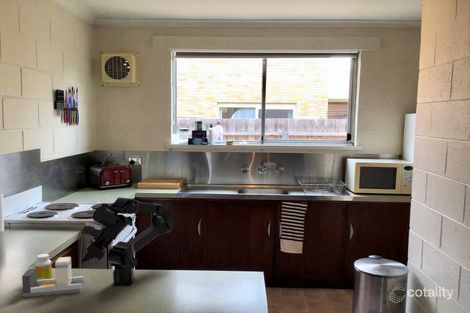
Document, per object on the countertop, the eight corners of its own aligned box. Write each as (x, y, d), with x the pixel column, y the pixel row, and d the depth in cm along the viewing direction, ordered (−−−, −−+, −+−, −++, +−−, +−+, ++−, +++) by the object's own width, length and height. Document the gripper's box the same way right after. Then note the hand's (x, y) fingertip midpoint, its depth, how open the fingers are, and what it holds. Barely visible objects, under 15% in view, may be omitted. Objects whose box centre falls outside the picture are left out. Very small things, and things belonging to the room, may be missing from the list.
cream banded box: (72, 280, 140) (70, 256, 139) (68, 286, 135) (67, 261, 134) (60, 281, 139) (58, 257, 138) (56, 287, 134) (55, 262, 133)
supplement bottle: (45, 283, 142) (44, 258, 141) (32, 282, 143) (31, 257, 142) (55, 278, 147) (54, 253, 146) (42, 277, 148) (41, 252, 147)
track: (84, 283, 142) (83, 264, 141) (80, 292, 134) (79, 272, 134) (30, 287, 139) (29, 268, 138) (22, 297, 131) (21, 276, 130)
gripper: (99, 208, 146) (69, 239, 145) (91, 221, 128) (57, 256, 126) (121, 227, 148) (92, 257, 147) (116, 242, 130) (84, 277, 129)
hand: (82, 261), depth 137 cm, fingers closed
